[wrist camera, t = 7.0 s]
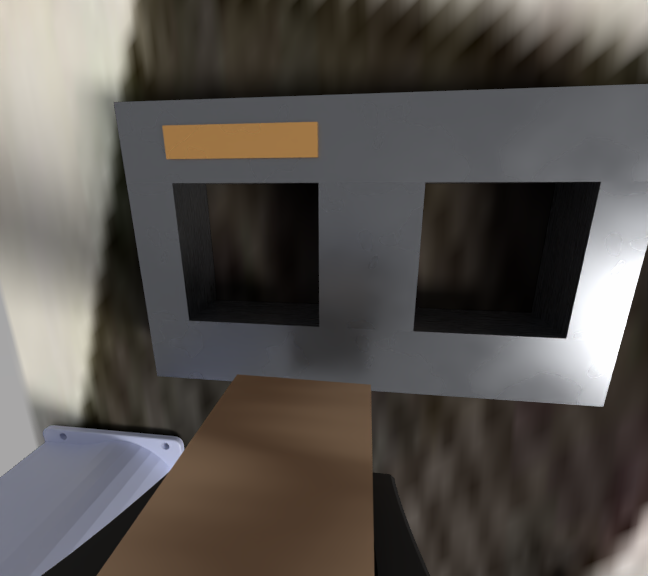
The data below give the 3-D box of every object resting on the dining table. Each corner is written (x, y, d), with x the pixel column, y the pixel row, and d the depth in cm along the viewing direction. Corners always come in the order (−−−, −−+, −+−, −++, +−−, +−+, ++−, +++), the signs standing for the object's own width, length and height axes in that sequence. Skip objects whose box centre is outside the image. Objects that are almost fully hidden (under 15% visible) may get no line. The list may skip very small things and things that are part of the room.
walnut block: (244, 479, 12) (103, 817, 6) (237, 374, 11) (44, 650, 4) (364, 493, 12) (361, 880, 5) (370, 384, 11) (377, 712, 4)
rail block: (188, 348, 19) (155, 378, 16) (159, 117, 16) (109, 100, 13) (563, 369, 17) (606, 409, 14) (623, 104, 14) (697, 81, 10)
